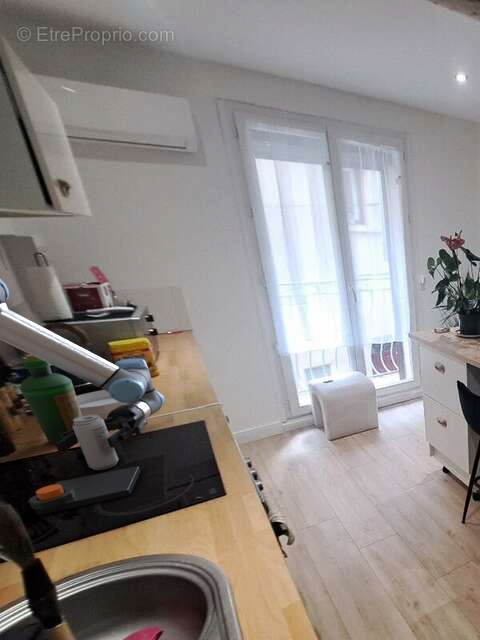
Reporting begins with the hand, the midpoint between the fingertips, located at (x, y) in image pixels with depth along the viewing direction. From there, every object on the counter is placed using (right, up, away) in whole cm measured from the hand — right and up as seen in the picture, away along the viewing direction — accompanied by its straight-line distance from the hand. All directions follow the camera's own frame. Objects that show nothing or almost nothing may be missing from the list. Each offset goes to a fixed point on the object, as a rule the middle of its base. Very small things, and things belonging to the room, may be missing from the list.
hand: (84, 445), depth 110 cm
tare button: (+6, -11, -13) cm, 18 cm away
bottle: (-29, 0, +22) cm, 37 cm away
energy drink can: (-2, -7, +7) cm, 10 cm away
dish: (-41, +9, +45) cm, 61 cm away
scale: (+8, -11, -5) cm, 15 cm away
